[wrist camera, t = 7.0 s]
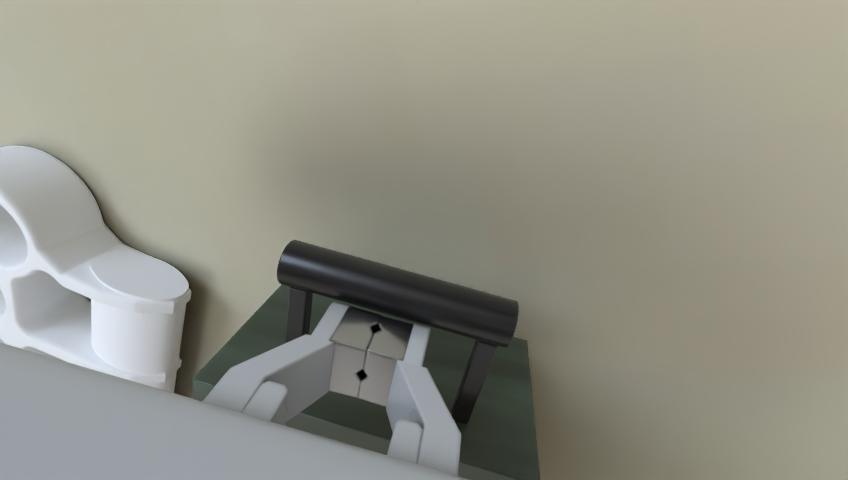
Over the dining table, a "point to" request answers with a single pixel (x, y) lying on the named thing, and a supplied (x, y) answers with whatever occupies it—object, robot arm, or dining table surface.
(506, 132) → the dining table surface
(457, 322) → the drawer
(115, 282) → the white brass knuckles
